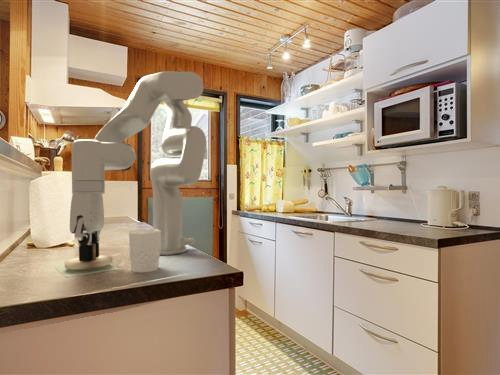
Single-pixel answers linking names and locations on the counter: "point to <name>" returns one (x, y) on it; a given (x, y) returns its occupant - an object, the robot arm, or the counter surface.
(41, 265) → the counter surface
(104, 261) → the lid
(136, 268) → the white cup
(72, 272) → the mat
